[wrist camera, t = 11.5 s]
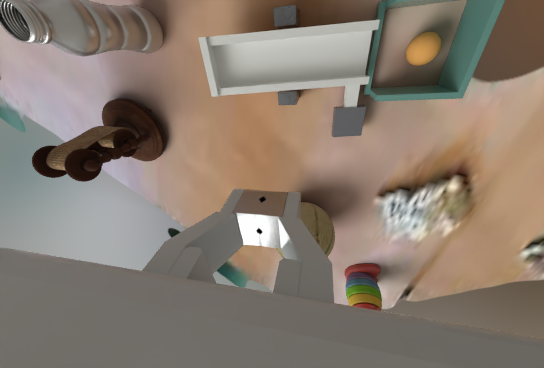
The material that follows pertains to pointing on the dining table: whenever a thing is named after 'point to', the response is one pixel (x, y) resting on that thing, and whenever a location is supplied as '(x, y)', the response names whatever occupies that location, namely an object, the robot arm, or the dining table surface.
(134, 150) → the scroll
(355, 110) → the chute lever
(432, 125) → the dining table surface
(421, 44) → the ball
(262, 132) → the dining table surface
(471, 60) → the cup
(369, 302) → the stacking bear
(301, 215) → the cantaloupe
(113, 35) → the plastic bottle
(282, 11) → the lever stand
